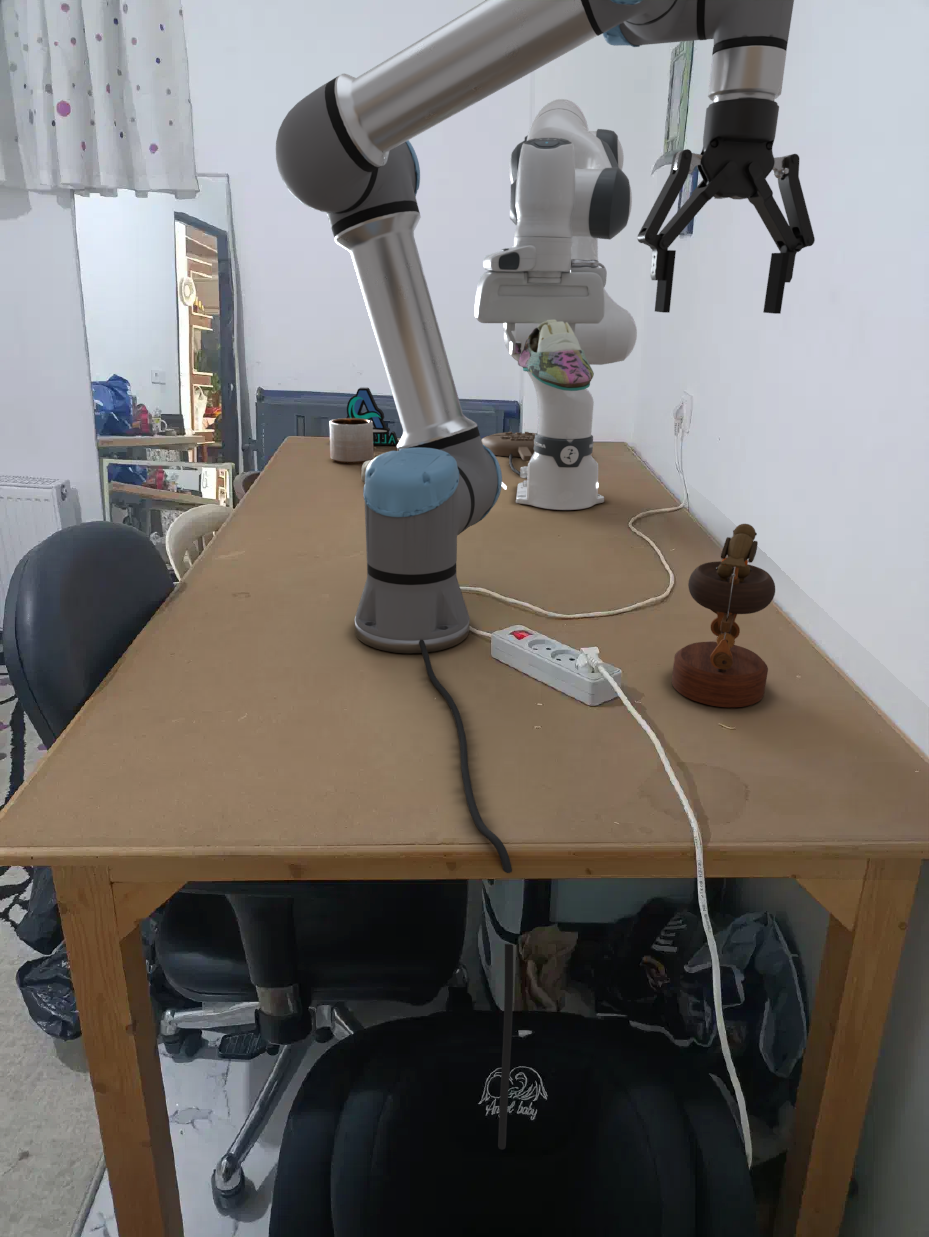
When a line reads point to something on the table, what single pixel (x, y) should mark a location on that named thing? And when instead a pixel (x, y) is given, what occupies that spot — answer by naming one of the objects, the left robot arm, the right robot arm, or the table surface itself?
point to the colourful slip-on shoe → (556, 357)
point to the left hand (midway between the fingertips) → (717, 313)
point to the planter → (351, 440)
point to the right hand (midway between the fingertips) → (537, 353)
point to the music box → (726, 628)
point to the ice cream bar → (511, 444)
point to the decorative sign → (371, 416)
